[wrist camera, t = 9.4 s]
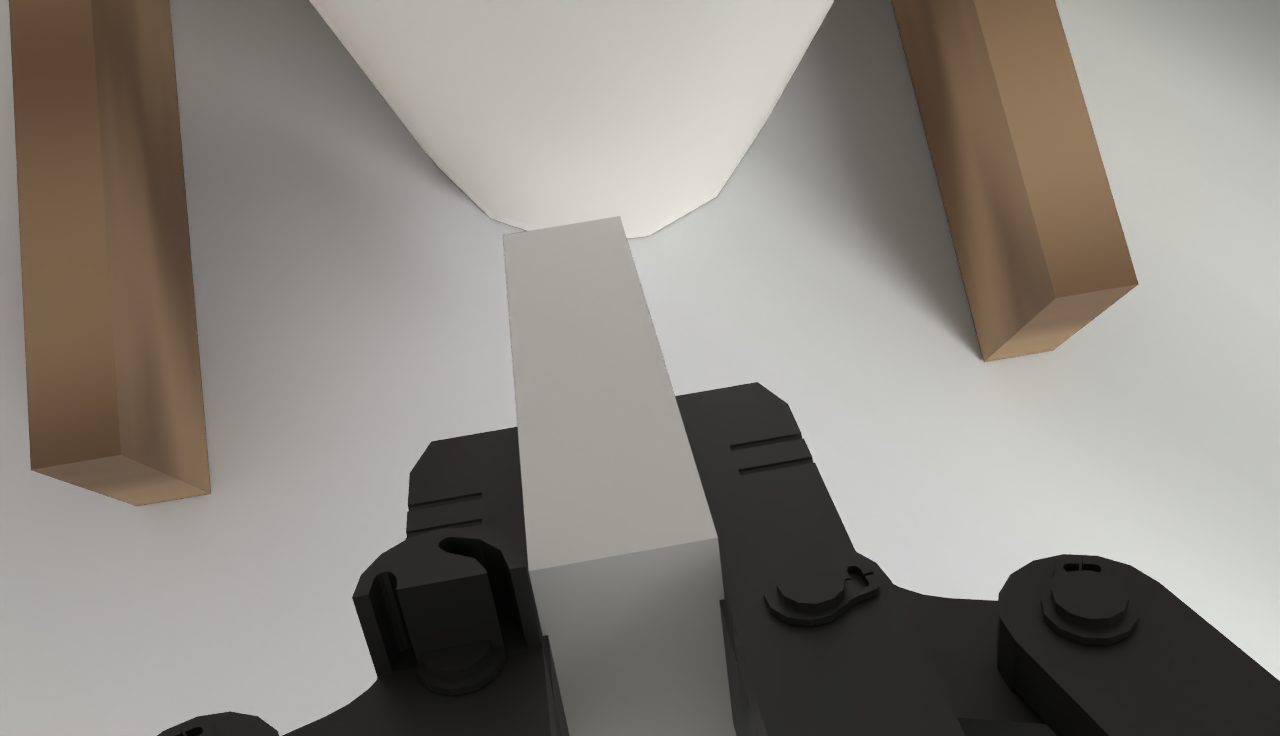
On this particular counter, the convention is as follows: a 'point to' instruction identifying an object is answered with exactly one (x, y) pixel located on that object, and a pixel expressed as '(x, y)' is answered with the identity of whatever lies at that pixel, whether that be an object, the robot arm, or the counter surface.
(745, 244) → the counter surface
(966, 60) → the brown bent bar
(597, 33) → the foam cup
